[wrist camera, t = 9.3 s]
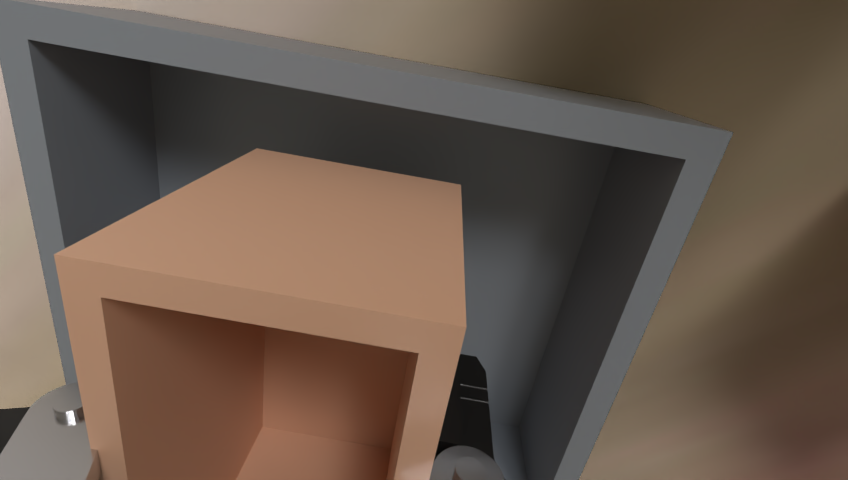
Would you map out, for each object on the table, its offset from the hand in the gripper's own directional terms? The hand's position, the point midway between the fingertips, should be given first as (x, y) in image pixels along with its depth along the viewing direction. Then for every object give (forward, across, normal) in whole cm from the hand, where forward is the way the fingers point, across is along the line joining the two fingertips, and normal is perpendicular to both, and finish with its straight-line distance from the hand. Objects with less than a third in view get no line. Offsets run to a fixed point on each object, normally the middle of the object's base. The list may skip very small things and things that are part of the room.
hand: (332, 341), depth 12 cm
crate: (+5, 0, 0) cm, 5 cm away
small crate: (+1, 0, 0) cm, 1 cm away
